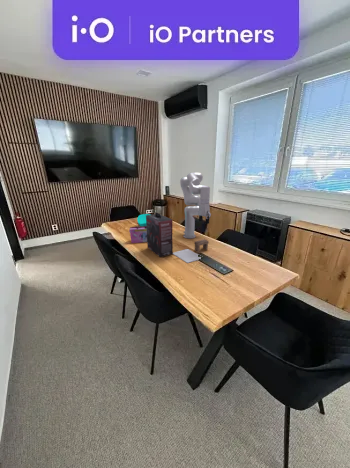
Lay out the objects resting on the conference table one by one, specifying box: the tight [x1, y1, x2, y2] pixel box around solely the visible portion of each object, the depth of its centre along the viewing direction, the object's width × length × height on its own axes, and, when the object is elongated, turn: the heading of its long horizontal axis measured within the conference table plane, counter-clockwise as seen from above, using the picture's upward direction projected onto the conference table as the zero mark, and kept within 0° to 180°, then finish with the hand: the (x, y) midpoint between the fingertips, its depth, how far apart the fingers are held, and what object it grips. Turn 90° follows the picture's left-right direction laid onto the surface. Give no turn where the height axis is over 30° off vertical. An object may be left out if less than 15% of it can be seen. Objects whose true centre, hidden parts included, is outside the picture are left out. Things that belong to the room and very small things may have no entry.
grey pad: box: [172, 248, 202, 264], centre depth 164 cm, size 21×16×1 cm
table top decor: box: [136, 213, 152, 227], centre depth 230 cm, size 40×28×13 cm
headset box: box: [146, 211, 174, 258], centre depth 168 cm, size 25×12×33 cm, turn 32°
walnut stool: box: [193, 239, 210, 253], centre depth 174 cm, size 6×11×8 cm, turn 124°
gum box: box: [128, 226, 147, 244], centre depth 194 cm, size 24×8×14 cm, turn 104°
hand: (203, 222), depth 170 cm, fingers open, 9 cm apart
